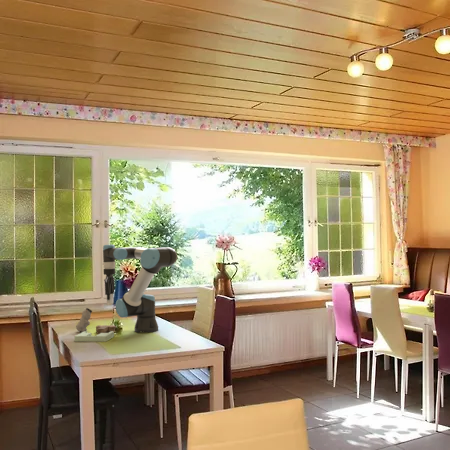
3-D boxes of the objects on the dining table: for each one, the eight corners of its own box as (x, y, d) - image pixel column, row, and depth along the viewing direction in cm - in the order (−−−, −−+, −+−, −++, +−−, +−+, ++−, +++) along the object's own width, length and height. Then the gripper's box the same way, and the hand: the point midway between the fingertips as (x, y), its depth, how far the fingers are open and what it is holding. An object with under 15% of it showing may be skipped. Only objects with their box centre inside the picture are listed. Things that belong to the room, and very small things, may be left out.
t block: (116, 331, 337) (116, 325, 337) (110, 335, 325) (110, 328, 325) (98, 331, 338) (98, 325, 338) (91, 335, 326) (91, 328, 327)
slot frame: (114, 336, 322) (114, 331, 322) (105, 341, 307) (105, 336, 307) (84, 336, 324) (84, 331, 324) (74, 341, 310) (74, 336, 310)
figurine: (88, 333, 334) (87, 309, 334) (73, 332, 336) (73, 309, 336) (94, 330, 343) (94, 307, 343) (80, 330, 345) (79, 307, 345)
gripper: (108, 267, 353) (108, 302, 352) (99, 269, 336) (100, 306, 336) (118, 267, 352) (119, 302, 351) (110, 269, 335) (111, 306, 335)
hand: (110, 304), depth 344 cm, fingers open, 3 cm apart
